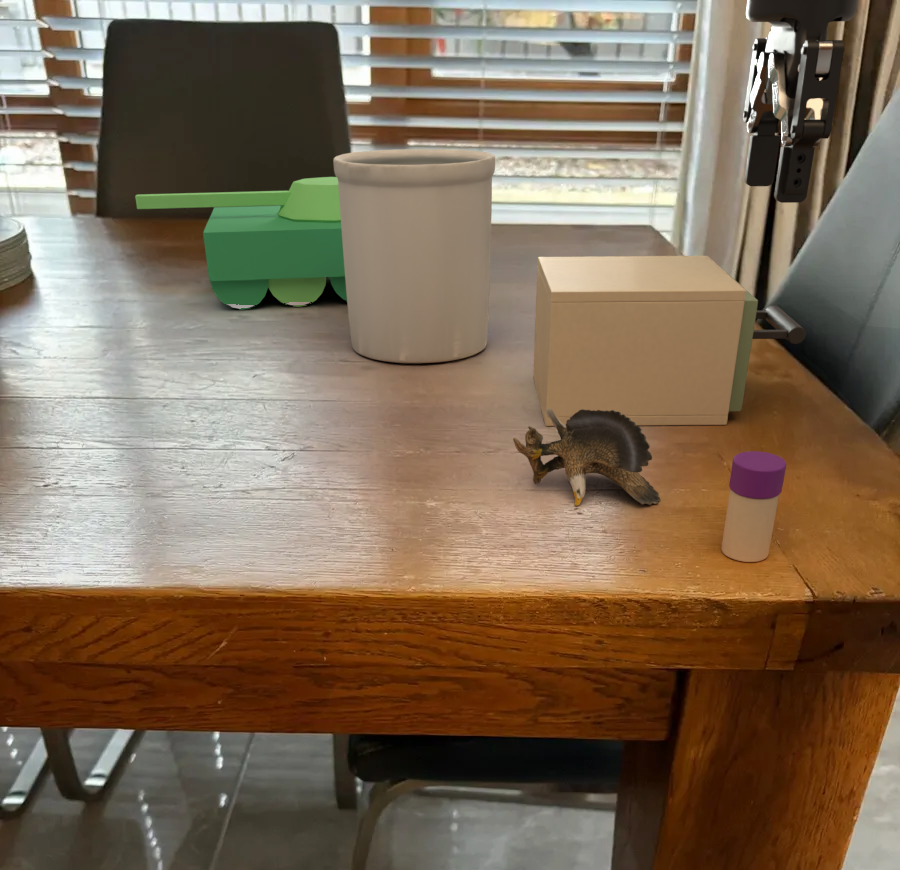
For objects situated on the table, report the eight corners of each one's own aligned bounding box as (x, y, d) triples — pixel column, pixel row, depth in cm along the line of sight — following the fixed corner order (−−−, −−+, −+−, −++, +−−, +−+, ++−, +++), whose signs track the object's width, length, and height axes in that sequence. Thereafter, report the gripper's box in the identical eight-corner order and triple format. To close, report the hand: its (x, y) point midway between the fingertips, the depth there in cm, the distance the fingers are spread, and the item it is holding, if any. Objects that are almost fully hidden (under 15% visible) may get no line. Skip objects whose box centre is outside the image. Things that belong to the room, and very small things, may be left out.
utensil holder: (345, 327, 104) (334, 147, 95) (483, 323, 105) (485, 144, 96) (344, 369, 92) (331, 166, 83) (501, 364, 93) (506, 163, 84)
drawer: (762, 367, 88) (778, 267, 84) (802, 411, 78) (823, 299, 74) (559, 369, 88) (564, 268, 84) (573, 412, 78) (580, 301, 74)
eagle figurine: (511, 500, 64) (651, 492, 60) (511, 392, 64) (650, 379, 61) (541, 517, 71) (667, 511, 68) (541, 420, 71) (666, 409, 68)
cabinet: (692, 375, 89) (707, 255, 84) (726, 424, 78) (746, 290, 73) (533, 377, 89) (537, 256, 84) (545, 426, 78) (551, 291, 73)
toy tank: (144, 176, 118) (432, 169, 122) (160, 281, 124) (433, 271, 128) (122, 197, 102) (452, 188, 106) (141, 315, 109) (452, 303, 113)
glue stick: (762, 540, 61) (778, 450, 58) (776, 563, 58) (793, 470, 55) (714, 540, 61) (727, 450, 58) (726, 563, 58) (740, 470, 55)
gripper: (906, -67, 61) (853, 208, 70) (830, -52, 74) (793, 180, 82) (786, -65, 61) (748, 209, 70) (731, -51, 74) (704, 181, 82)
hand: (772, 193), depth 76 cm, fingers open, 8 cm apart
